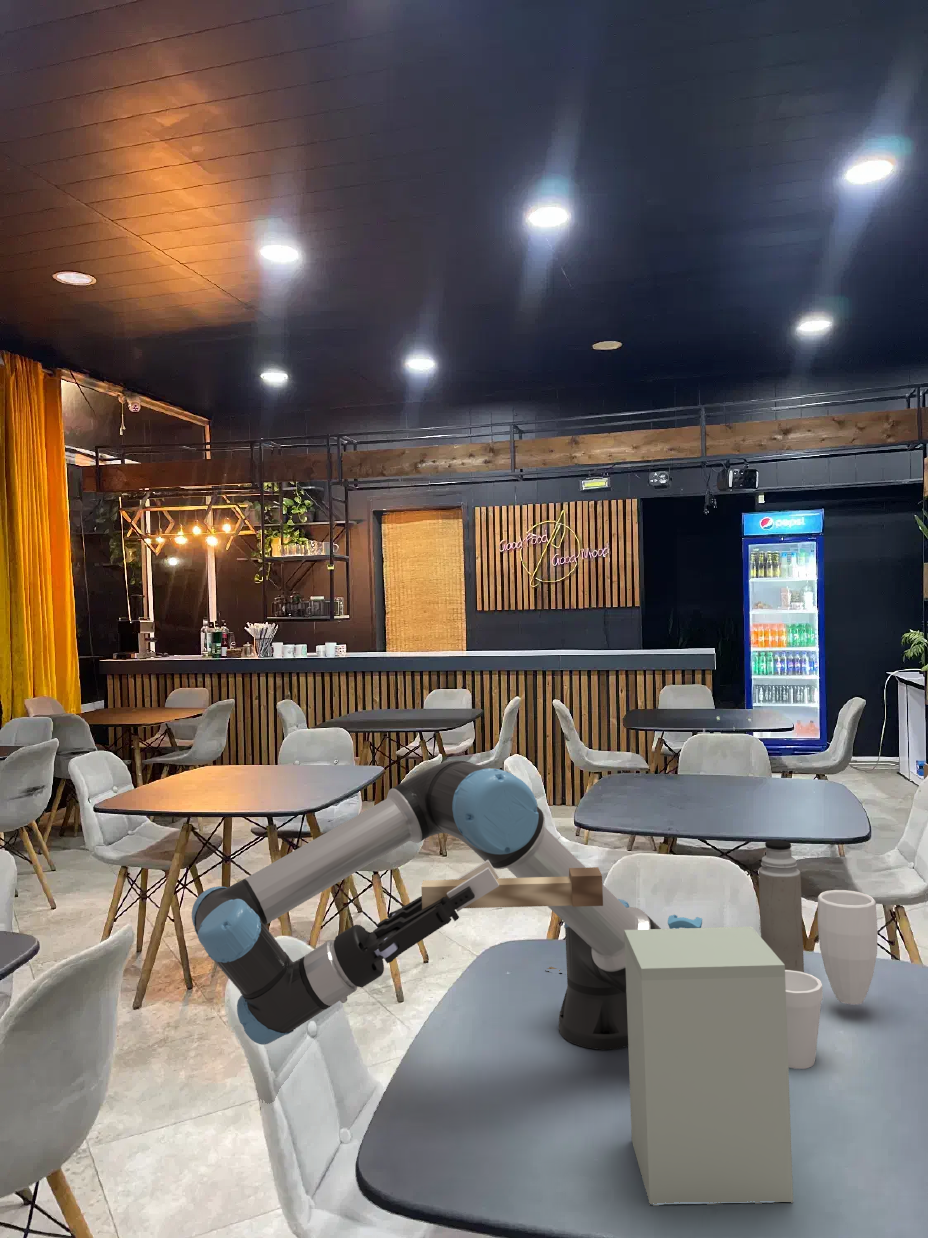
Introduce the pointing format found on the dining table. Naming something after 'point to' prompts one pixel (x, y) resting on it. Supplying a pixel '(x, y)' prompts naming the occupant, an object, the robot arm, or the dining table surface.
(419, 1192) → the dining table surface
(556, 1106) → the dining table surface
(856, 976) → the cup
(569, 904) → the beech bar
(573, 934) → the robot arm
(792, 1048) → the foam cup
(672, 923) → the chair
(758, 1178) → the stand
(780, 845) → the thermos bottle
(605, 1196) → the dining table surface
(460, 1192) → the dining table surface
